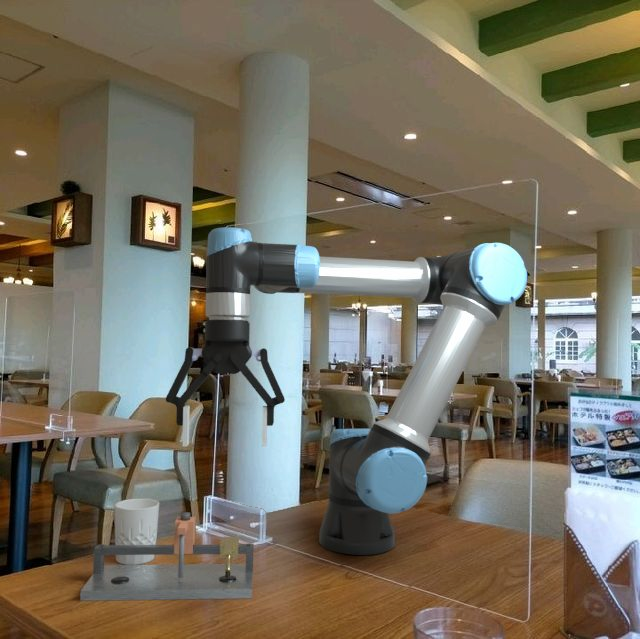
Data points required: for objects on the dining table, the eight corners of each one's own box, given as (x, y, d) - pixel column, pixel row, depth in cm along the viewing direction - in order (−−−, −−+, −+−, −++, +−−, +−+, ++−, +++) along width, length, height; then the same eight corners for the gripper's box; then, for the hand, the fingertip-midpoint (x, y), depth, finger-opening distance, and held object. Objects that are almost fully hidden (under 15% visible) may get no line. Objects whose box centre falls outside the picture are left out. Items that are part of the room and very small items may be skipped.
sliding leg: (194, 564, 106) (195, 510, 106) (189, 579, 100) (191, 521, 100) (176, 565, 106) (177, 510, 106) (170, 579, 99) (172, 521, 100)
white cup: (145, 568, 109) (147, 510, 110) (104, 564, 111) (106, 507, 111) (165, 553, 117) (166, 500, 117) (126, 550, 119) (128, 497, 119)
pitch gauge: (252, 572, 108) (253, 534, 109) (251, 598, 97) (252, 555, 98) (99, 574, 106) (100, 534, 106) (80, 600, 95) (81, 556, 95)
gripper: (298, 321, 111) (296, 441, 111) (158, 318, 109) (155, 441, 109) (300, 319, 104) (298, 448, 103) (150, 317, 102) (146, 448, 101)
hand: (225, 445), depth 106 cm, fingers open, 12 cm apart
